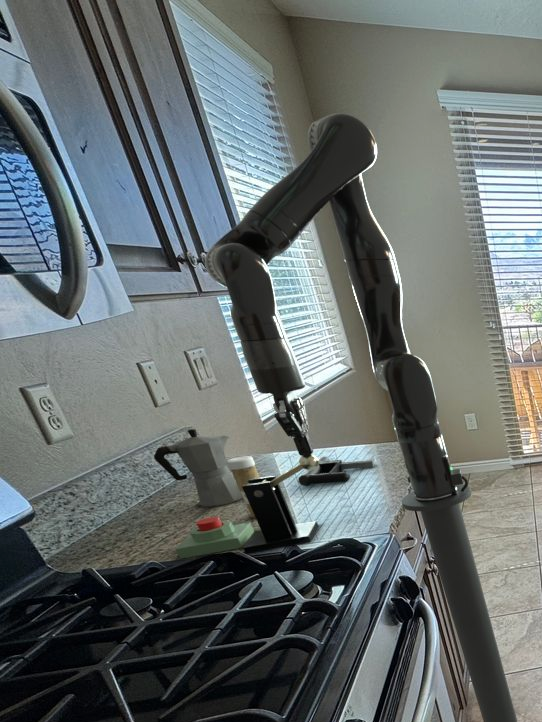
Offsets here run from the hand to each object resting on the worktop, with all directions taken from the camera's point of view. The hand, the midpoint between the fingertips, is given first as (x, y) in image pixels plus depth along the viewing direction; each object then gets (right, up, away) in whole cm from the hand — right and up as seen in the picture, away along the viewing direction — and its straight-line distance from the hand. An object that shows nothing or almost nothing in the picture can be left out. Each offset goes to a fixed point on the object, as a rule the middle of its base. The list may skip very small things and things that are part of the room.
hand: (307, 454), depth 112 cm
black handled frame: (-23, +1, +44) cm, 49 cm away
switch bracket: (-8, -17, +4) cm, 19 cm away
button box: (-20, -18, +3) cm, 27 cm away
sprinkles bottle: (-23, -11, +18) cm, 31 cm away
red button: (-20, -15, +1) cm, 25 cm away
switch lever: (-3, -5, +1) cm, 6 cm away
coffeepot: (-42, -8, +27) cm, 51 cm away
